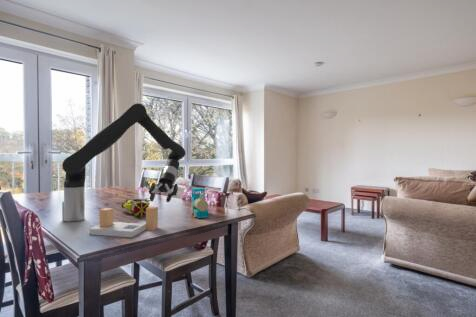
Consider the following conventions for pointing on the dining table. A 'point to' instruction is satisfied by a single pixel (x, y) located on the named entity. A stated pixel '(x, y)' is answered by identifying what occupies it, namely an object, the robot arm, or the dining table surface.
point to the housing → (118, 229)
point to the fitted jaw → (106, 217)
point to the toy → (137, 206)
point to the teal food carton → (199, 204)
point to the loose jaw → (151, 218)
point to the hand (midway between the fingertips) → (159, 201)
